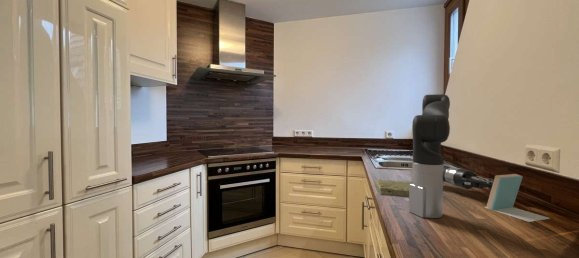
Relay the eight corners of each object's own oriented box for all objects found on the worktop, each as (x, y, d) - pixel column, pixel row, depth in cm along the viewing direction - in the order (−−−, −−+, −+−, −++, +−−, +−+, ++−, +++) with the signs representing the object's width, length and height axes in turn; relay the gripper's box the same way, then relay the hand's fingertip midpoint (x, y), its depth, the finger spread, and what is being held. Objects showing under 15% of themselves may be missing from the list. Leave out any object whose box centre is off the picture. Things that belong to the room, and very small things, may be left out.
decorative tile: (374, 185, 128) (374, 178, 128) (418, 188, 124) (418, 180, 124) (379, 196, 110) (379, 188, 110) (431, 200, 106) (431, 191, 106)
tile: (492, 210, 91) (501, 178, 88) (486, 206, 93) (495, 175, 90) (512, 207, 94) (522, 176, 91) (506, 204, 96) (515, 173, 93)
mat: (528, 223, 81) (528, 221, 81) (483, 208, 94) (483, 207, 94) (550, 219, 84) (550, 218, 84) (503, 205, 97) (503, 204, 97)
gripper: (446, 169, 109) (486, 178, 92) (473, 168, 112) (516, 176, 95) (446, 187, 109) (485, 199, 92) (472, 185, 112) (515, 197, 95)
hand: (500, 188), depth 93 cm, fingers closed
